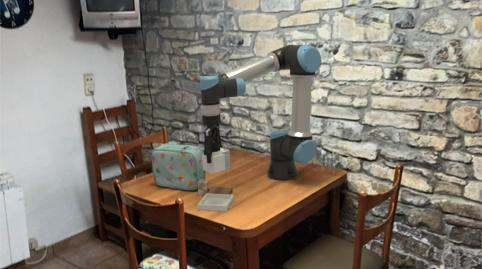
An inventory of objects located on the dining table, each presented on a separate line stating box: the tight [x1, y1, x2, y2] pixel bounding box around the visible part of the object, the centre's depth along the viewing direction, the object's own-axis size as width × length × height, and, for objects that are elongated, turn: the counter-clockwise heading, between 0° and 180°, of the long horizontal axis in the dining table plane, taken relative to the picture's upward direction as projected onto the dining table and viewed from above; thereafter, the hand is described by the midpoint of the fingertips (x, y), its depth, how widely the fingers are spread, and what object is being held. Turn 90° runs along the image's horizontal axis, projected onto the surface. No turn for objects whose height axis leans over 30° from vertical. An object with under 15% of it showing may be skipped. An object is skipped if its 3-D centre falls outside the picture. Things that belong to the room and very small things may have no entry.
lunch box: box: [151, 142, 207, 191], centre depth 215 cm, size 27×10×21 cm, turn 66°
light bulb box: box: [220, 147, 231, 173], centre depth 241 cm, size 11×7×11 cm, turn 42°
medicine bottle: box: [202, 142, 227, 174], centre depth 188 cm, size 7×7×12 cm
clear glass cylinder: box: [197, 179, 210, 196], centre depth 206 cm, size 4×4×6 cm
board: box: [208, 186, 234, 195], centre depth 205 cm, size 10×8×2 cm
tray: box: [197, 193, 235, 212], centre depth 193 cm, size 13×13×2 cm
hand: (214, 166), depth 189 cm, fingers closed on medicine bottle, 10 cm apart
